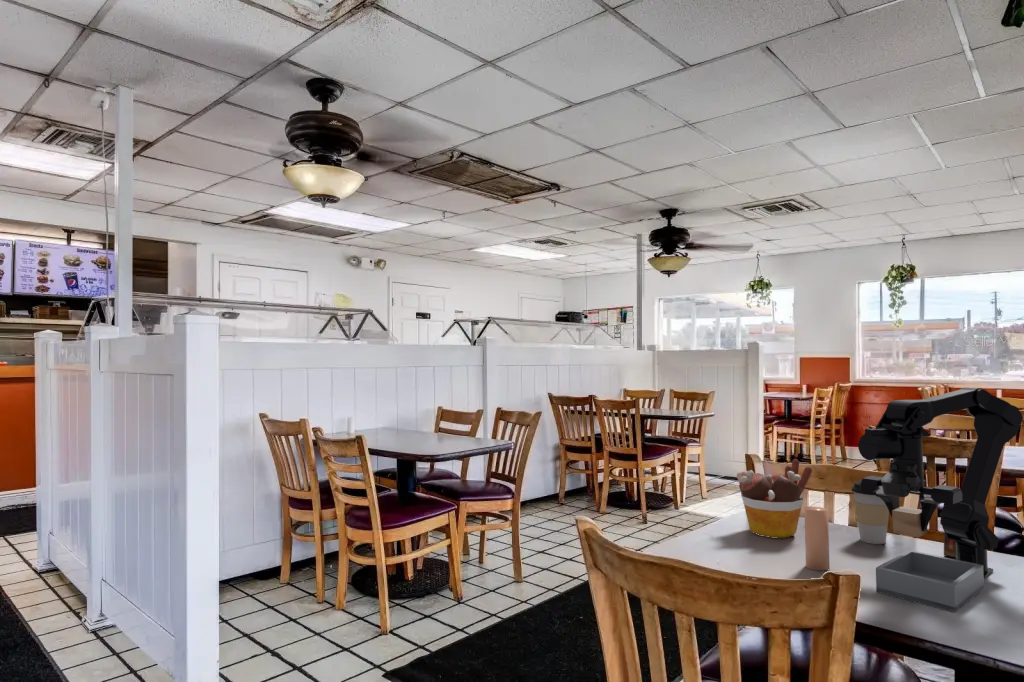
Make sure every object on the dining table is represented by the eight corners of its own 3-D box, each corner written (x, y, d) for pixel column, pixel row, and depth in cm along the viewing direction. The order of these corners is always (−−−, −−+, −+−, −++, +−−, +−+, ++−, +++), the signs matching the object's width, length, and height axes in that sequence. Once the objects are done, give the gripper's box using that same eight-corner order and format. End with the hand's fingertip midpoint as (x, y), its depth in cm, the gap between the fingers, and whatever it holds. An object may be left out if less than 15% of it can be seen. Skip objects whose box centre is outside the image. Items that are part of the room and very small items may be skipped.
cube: (902, 528, 143) (901, 506, 143) (927, 533, 139) (926, 510, 139) (892, 532, 140) (892, 510, 140) (917, 537, 136) (917, 514, 136)
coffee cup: (870, 534, 172) (868, 479, 173) (902, 543, 164) (900, 485, 164) (844, 538, 169) (842, 482, 169) (875, 548, 160) (874, 488, 161)
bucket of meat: (764, 545, 164) (762, 468, 165) (724, 528, 180) (723, 458, 180) (825, 537, 170) (823, 463, 171) (782, 522, 186) (780, 454, 186)
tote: (909, 572, 143) (908, 549, 143) (983, 589, 132) (983, 565, 132) (876, 591, 131) (875, 567, 132) (955, 612, 121) (954, 586, 121)
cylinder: (812, 562, 150) (810, 505, 151) (833, 567, 146) (832, 509, 147) (801, 566, 147) (800, 508, 148) (823, 572, 143) (821, 512, 144)
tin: (948, 544, 162) (947, 511, 163) (963, 546, 160) (962, 513, 161) (942, 559, 151) (941, 524, 151) (958, 562, 149) (957, 526, 149)
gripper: (846, 457, 143) (849, 526, 142) (941, 467, 128) (944, 545, 127) (869, 451, 149) (872, 517, 149) (961, 461, 134) (964, 534, 134)
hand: (910, 528), depth 140 cm, fingers closed on cube, 5 cm apart
